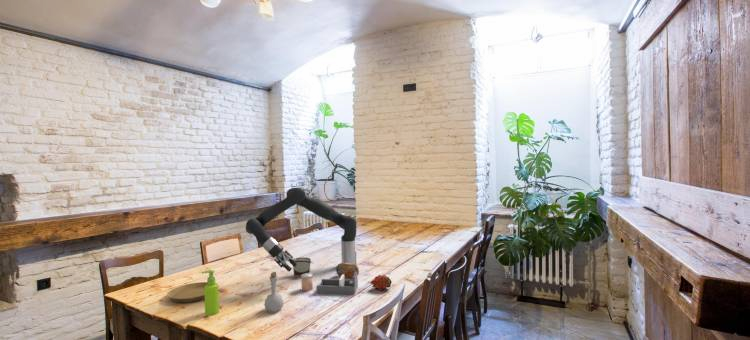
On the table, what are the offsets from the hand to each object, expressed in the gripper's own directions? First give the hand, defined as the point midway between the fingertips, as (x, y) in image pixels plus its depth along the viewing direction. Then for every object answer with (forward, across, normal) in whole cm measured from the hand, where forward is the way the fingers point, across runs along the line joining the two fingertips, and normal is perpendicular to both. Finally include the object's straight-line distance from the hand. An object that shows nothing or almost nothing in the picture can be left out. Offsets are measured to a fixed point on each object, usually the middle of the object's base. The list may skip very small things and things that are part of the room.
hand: (293, 268), depth 195 cm
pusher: (+27, 0, -12) cm, 29 cm away
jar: (+14, 0, +3) cm, 14 cm away
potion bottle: (+8, -27, +8) cm, 30 cm away
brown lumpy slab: (+27, +21, -10) cm, 36 cm away
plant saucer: (-27, -14, +44) cm, 54 cm away
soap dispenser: (-12, -33, +28) cm, 45 cm away
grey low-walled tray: (+26, 0, -10) cm, 28 cm away
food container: (+7, +24, +10) cm, 27 cm away
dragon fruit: (+43, +3, -26) cm, 50 cm away
